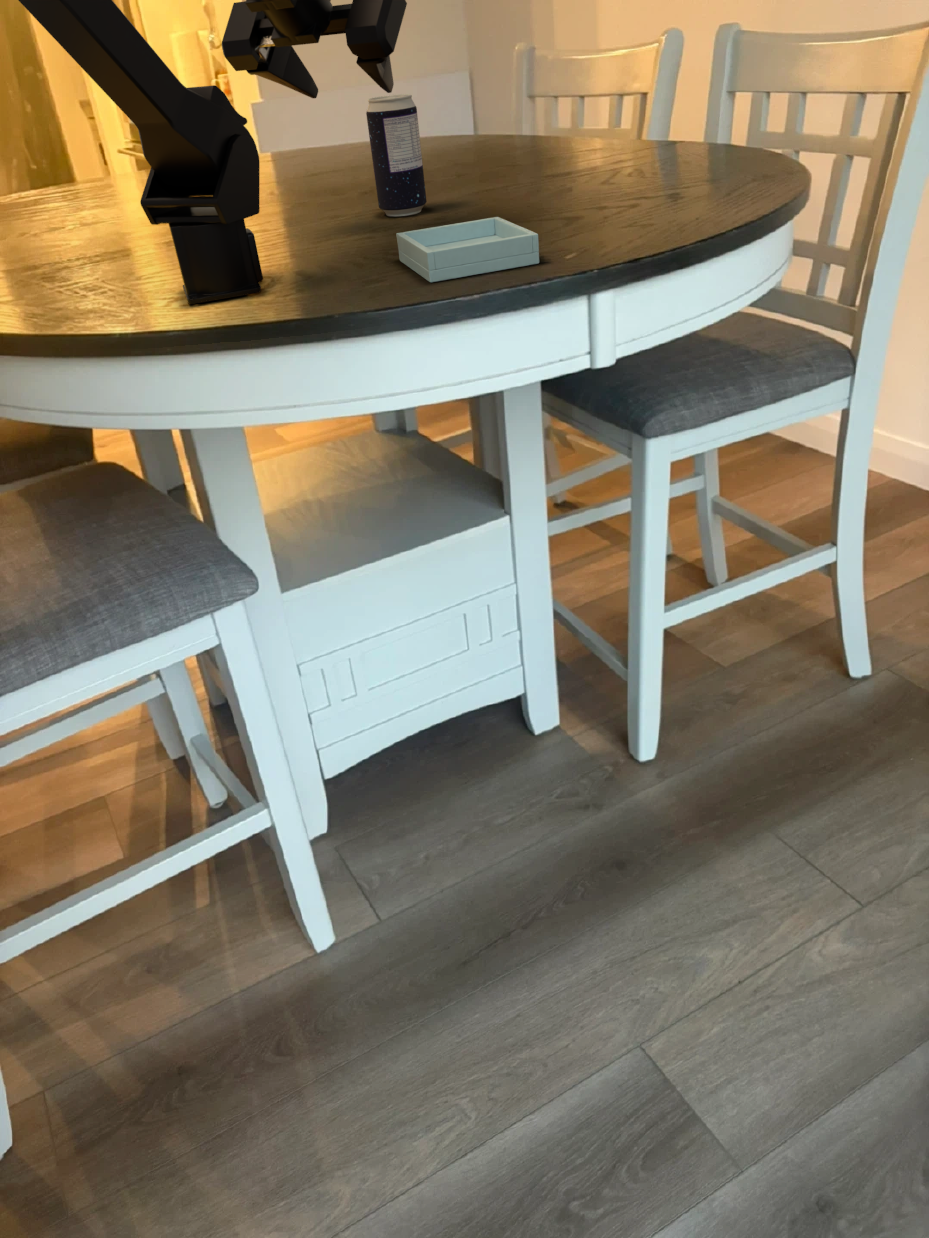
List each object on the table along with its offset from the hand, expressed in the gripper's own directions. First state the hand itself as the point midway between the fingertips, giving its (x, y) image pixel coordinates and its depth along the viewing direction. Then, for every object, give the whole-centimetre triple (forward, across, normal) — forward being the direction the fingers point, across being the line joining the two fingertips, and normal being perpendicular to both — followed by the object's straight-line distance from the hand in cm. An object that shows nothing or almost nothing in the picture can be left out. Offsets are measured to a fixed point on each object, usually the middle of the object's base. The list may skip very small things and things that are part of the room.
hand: (352, 92), depth 95 cm
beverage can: (+15, 0, +4) cm, 15 cm away
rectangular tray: (-1, -19, +20) cm, 28 cm away
